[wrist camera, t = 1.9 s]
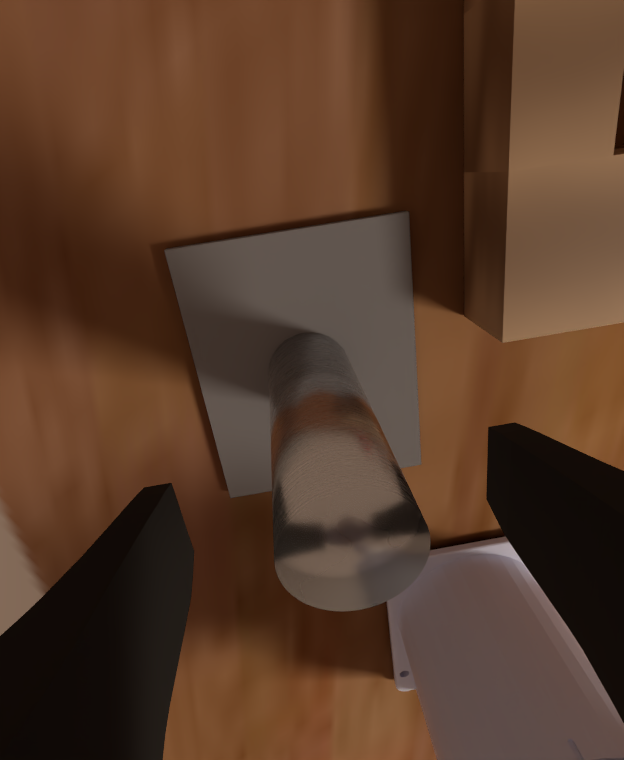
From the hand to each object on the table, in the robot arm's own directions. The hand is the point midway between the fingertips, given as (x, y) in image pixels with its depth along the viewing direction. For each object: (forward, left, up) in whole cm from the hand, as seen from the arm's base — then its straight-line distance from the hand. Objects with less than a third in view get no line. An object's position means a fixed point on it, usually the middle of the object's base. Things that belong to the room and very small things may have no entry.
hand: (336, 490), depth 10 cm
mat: (0, 0, -8) cm, 8 cm away
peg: (0, 0, -7) cm, 7 cm away
